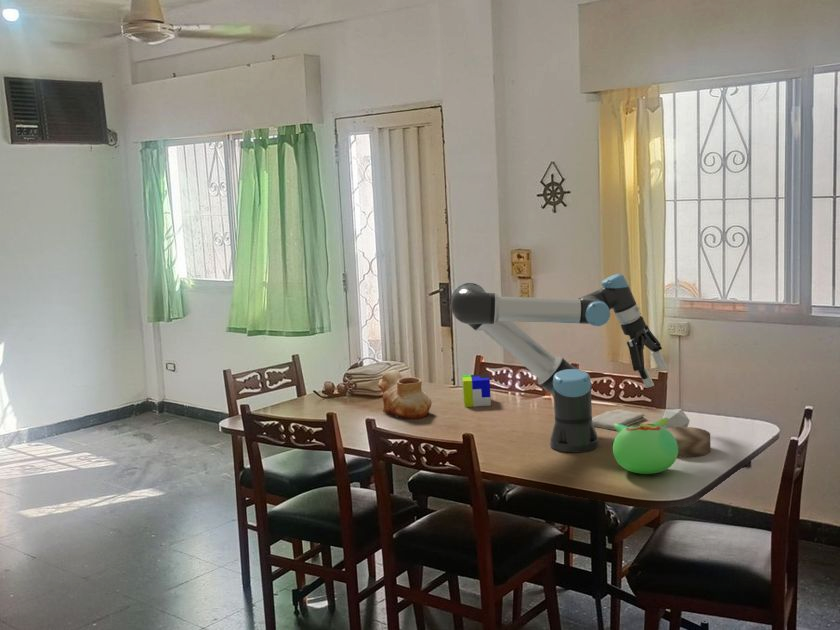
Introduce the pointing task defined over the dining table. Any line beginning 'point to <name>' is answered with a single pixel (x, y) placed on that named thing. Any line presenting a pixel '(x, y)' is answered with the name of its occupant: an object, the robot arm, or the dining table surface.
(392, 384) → the ceramic vessel
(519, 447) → the dining table surface
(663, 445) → the green eared pot
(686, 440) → the plinth
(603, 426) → the washcloth
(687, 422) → the die
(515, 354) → the robot arm
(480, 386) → the puzzle toy
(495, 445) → the dining table surface
